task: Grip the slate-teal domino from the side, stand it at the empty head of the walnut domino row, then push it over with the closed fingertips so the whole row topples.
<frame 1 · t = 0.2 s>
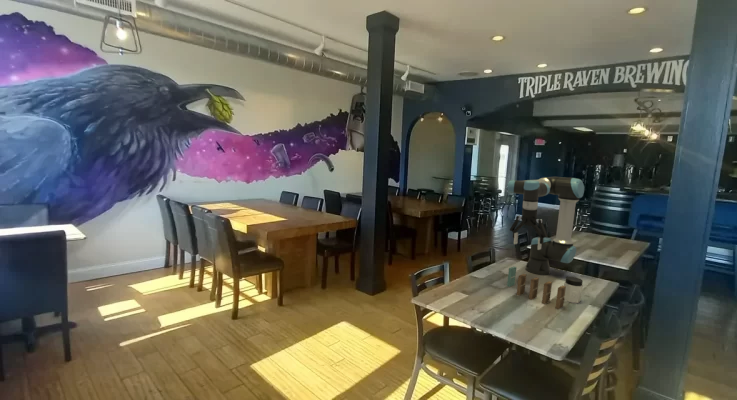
hand: (527, 246, 203), 27 cm above the table, tool pointing down, fingers open, 13 cm apart
domino 5: (559, 307, 190), on the table
domino 2: (520, 293, 206), on the table
domino teal: (510, 285, 219), on the table
jar: (571, 300, 201), on the table
domino 4: (545, 302, 196), on the table
domino 3: (532, 298, 201), on the table
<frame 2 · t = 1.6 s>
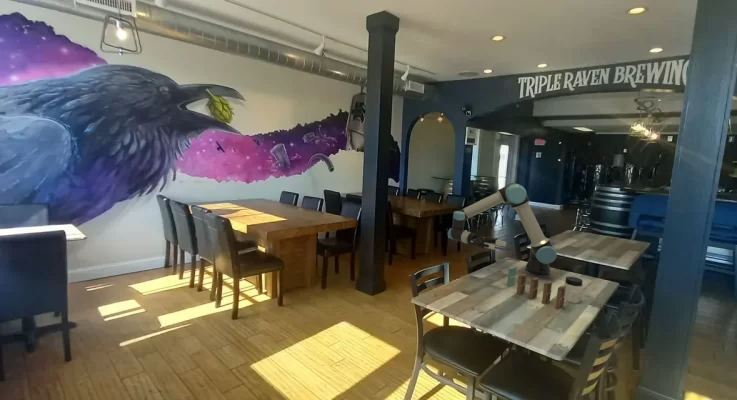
hand: (500, 245, 222), 22 cm above the table, tool horizontal, fingers open, 13 cm apart
nothing on the table moved.
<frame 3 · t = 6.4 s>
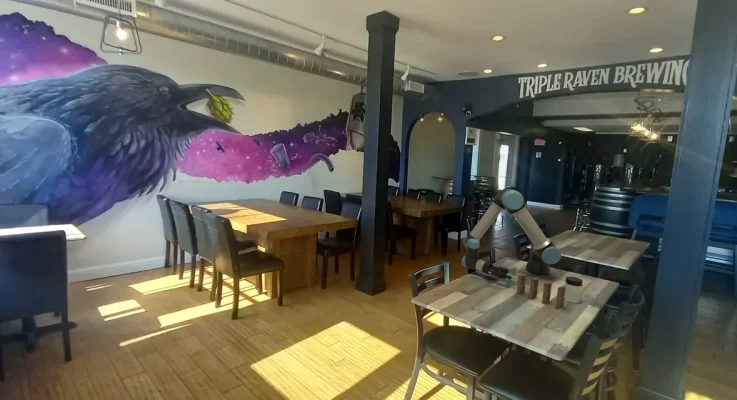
hand: (520, 278, 214), 6 cm above the table, tool horizontal, fingers closed on domino teal, 6 cm apart
domino teal: (510, 285, 219), on the table, touching gripper
everything else where it was.
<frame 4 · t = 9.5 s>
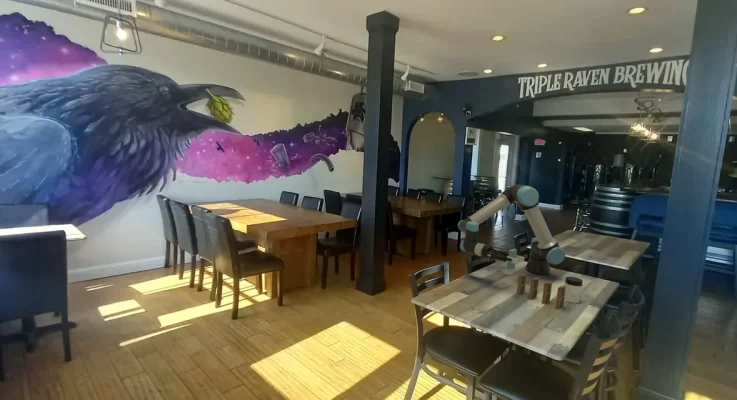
hand: (520, 260, 205), 19 cm above the table, tool horizontal, fingers closed on domino teal, 6 cm apart
domino teal: (510, 268, 209), point 13 cm above the table, touching gripper
everything else where it was.
when the fingers open (7 cm above the table, at t = 12.4 s): domino teal stays where it is, on the table.
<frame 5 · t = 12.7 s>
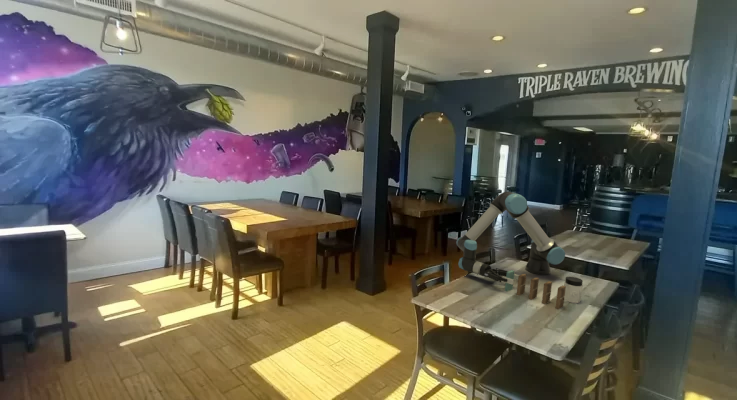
hand: (517, 280, 207), 7 cm above the table, tool horizontal, fingers open, 9 cm apart
domino teal: (508, 289, 211), on the table
everything else where it was.
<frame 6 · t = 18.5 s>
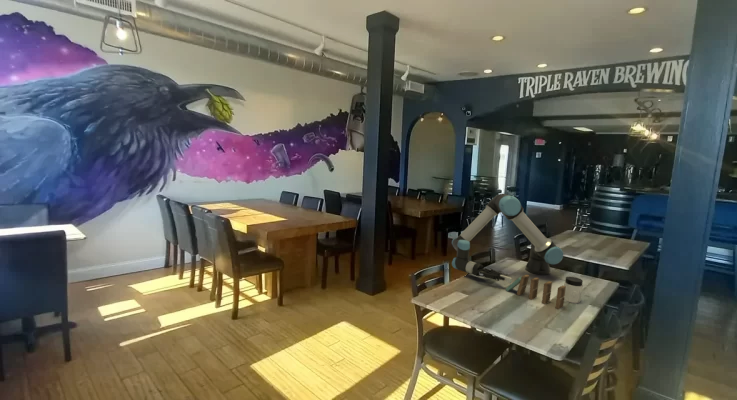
hand: (510, 280, 210), 6 cm above the table, tool horizontal, fingers closed
domino 2: (520, 293, 206), on the table, tilted 9°
domino teal: (509, 289, 211), on the table, tilted 38°
everything else where it was.
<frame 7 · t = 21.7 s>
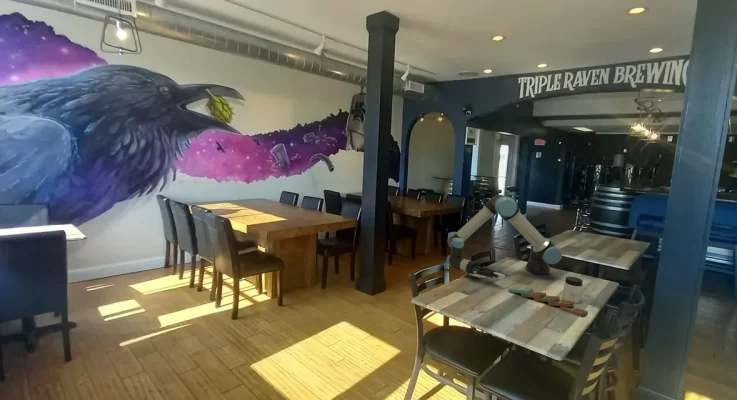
hand: (504, 277, 213), 6 cm above the table, tool horizontal, fingers closed
domino 5: (562, 306, 190), point 1 cm above the table, tilted 88°, touching domino 4
domino 2: (523, 293, 204), point 1 cm above the table, tilted 76°, touching domino 3, domino teal
domino teal: (511, 289, 210), point 1 cm above the table, tilted 77°, touching domino 2
domino 4: (549, 301, 195), point 1 cm above the table, tilted 79°, touching domino 3, domino 5
domino 3: (536, 297, 199), point 1 cm above the table, tilted 76°, touching domino 2, domino 4
everything else where it was.
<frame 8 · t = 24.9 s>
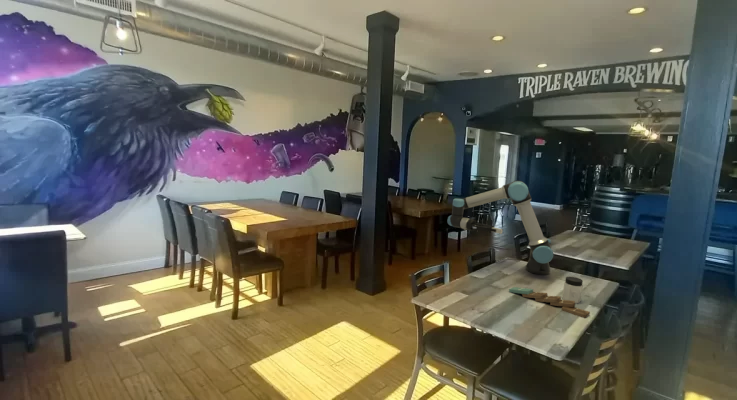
hand: (501, 231, 226), 30 cm above the table, tool horizontal, fingers closed
domino 5: (563, 307, 189), on the table, tilted 88°
domino 4: (550, 301, 194), point 1 cm above the table, tilted 81°, touching domino 3
at the end: domino 5 tilted 88°; domino teal tilted 78°; domino teal inside the target area (1.2 cm from its centre), point 0.8 cm above the table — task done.
